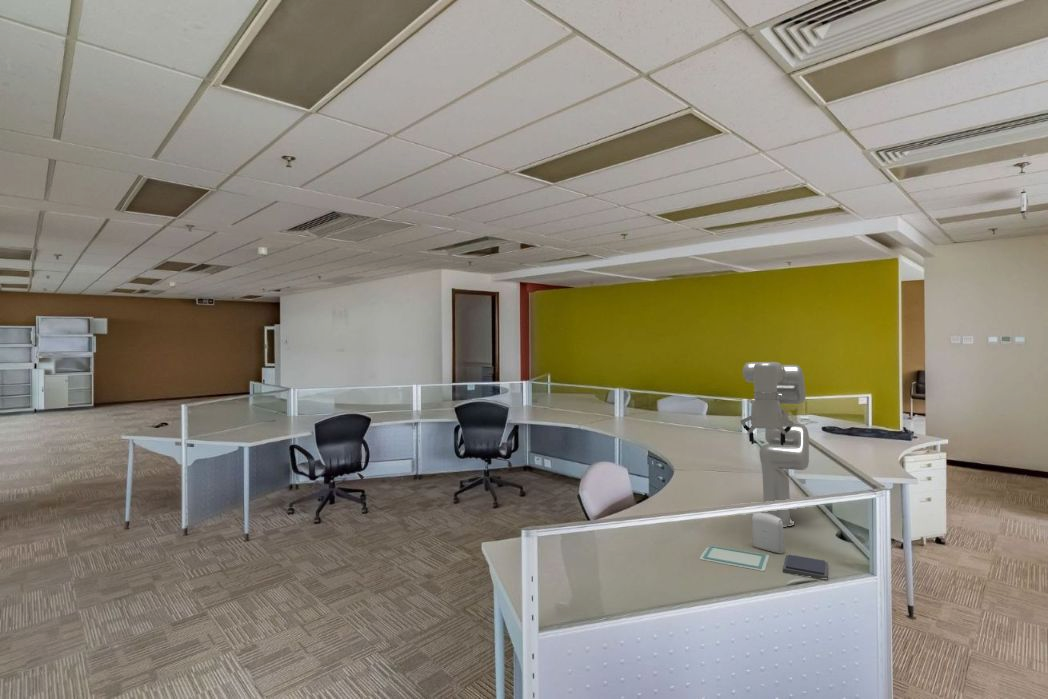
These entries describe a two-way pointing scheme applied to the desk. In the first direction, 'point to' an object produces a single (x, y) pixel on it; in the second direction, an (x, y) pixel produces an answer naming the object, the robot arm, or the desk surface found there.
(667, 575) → the desk surface
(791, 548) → the desk surface
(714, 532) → the desk surface
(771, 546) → the photo printer
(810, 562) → the ink pad
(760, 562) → the teal bordered white mat
